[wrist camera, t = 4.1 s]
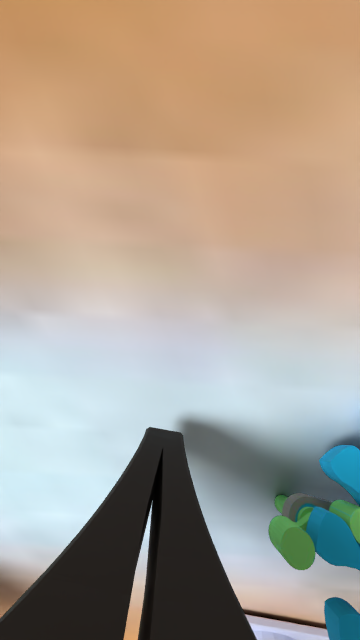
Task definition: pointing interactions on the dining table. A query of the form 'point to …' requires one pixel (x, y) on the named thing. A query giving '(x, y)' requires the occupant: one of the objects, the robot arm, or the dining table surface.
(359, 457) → the blue knobby piece
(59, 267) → the dining table surface
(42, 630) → the robot arm
